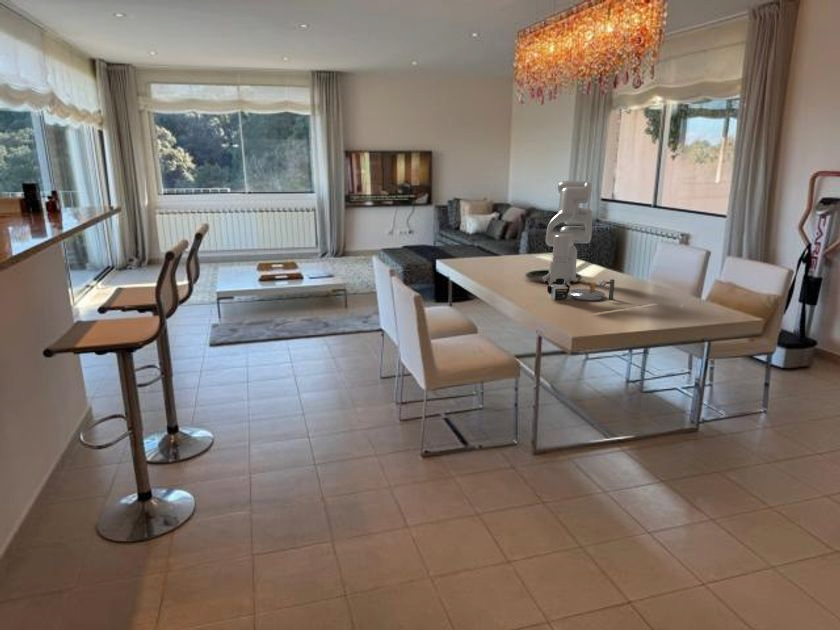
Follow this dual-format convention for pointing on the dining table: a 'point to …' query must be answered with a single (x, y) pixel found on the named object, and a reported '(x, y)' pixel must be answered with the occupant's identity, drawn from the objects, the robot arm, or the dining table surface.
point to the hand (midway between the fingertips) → (558, 293)
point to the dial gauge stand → (611, 291)
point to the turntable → (586, 294)
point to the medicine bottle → (559, 290)
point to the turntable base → (590, 301)
